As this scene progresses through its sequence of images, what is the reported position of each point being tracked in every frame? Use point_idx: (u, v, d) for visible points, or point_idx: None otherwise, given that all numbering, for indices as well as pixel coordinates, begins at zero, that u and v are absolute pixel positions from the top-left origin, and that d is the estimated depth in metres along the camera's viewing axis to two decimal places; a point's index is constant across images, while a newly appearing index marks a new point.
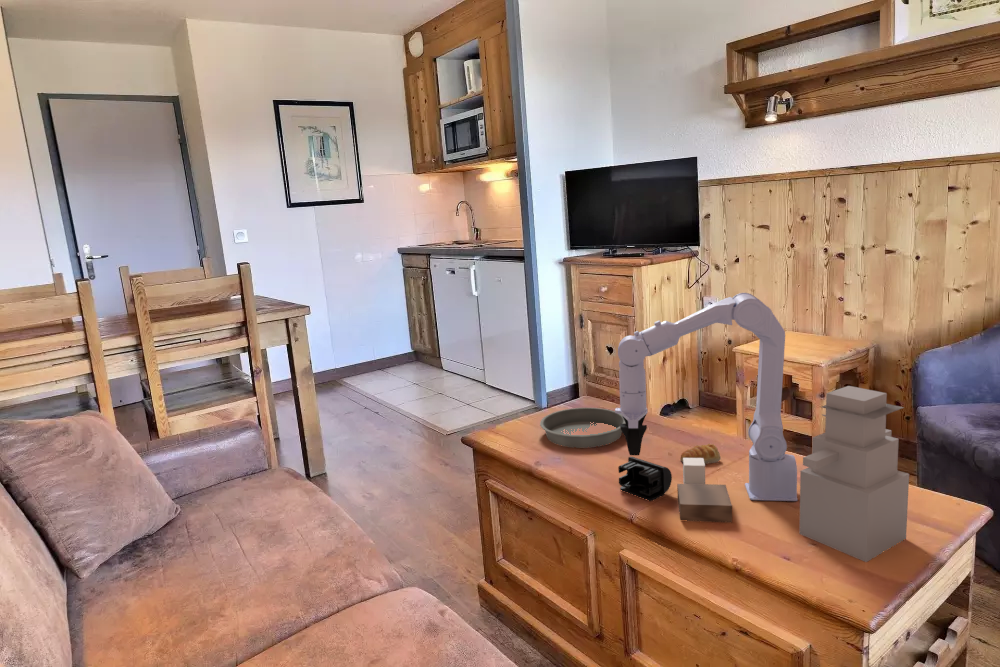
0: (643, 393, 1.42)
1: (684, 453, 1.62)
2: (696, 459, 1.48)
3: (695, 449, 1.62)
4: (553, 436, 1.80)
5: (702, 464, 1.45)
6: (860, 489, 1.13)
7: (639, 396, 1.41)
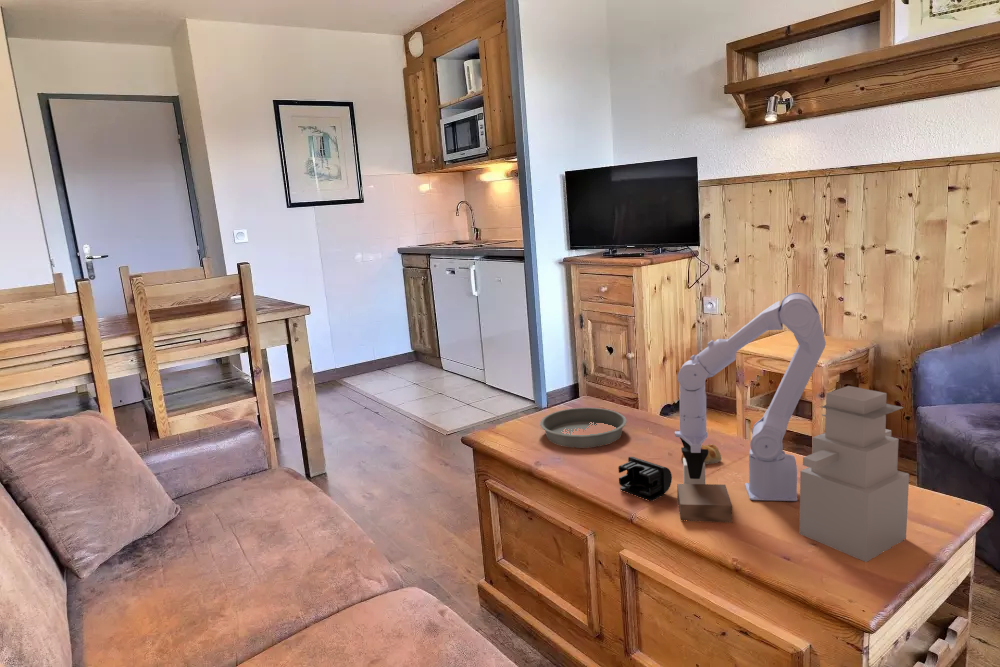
0: (704, 417, 1.43)
1: None
2: None
3: None
4: (553, 436, 1.80)
5: None
6: (860, 489, 1.13)
7: (700, 420, 1.42)
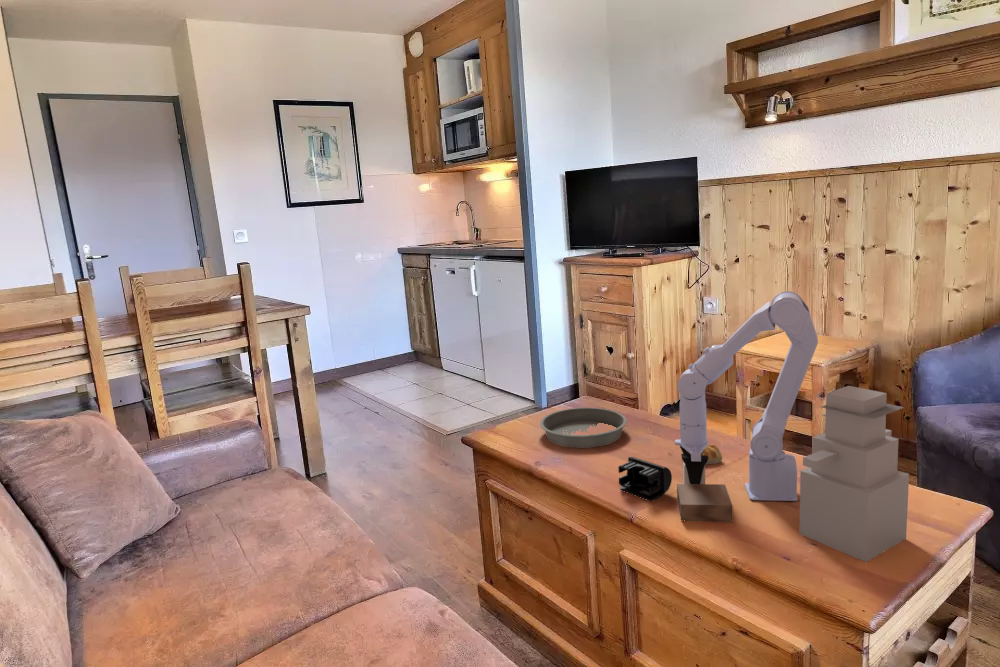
0: (704, 426, 1.43)
1: None
2: None
3: None
4: (553, 436, 1.80)
5: None
6: (860, 489, 1.13)
7: (700, 429, 1.43)
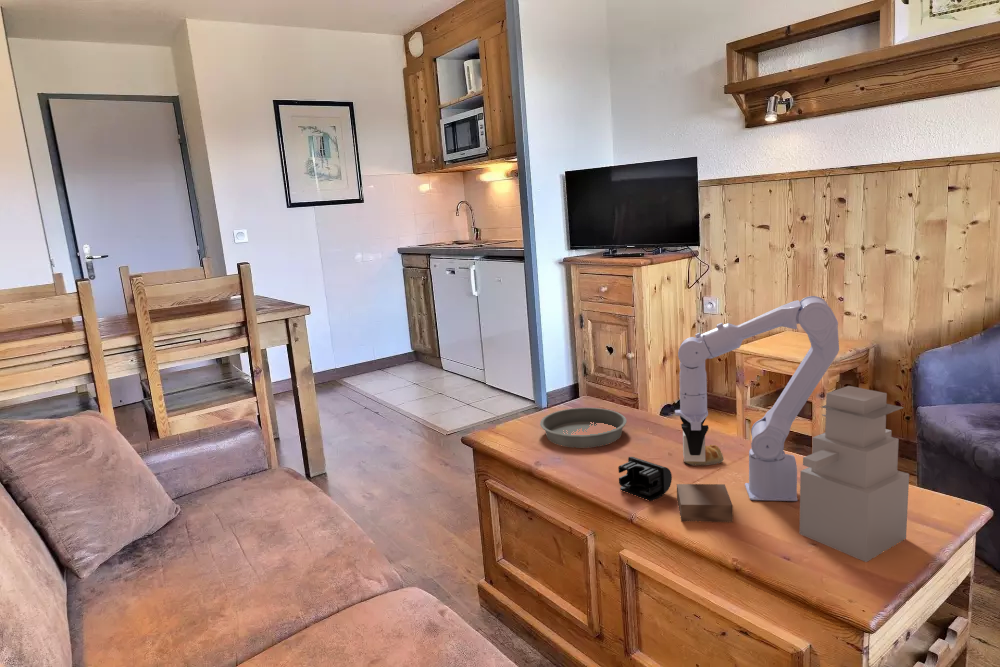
0: (704, 395, 1.41)
1: None
2: None
3: None
4: (553, 436, 1.80)
5: None
6: (860, 489, 1.13)
7: (701, 398, 1.41)
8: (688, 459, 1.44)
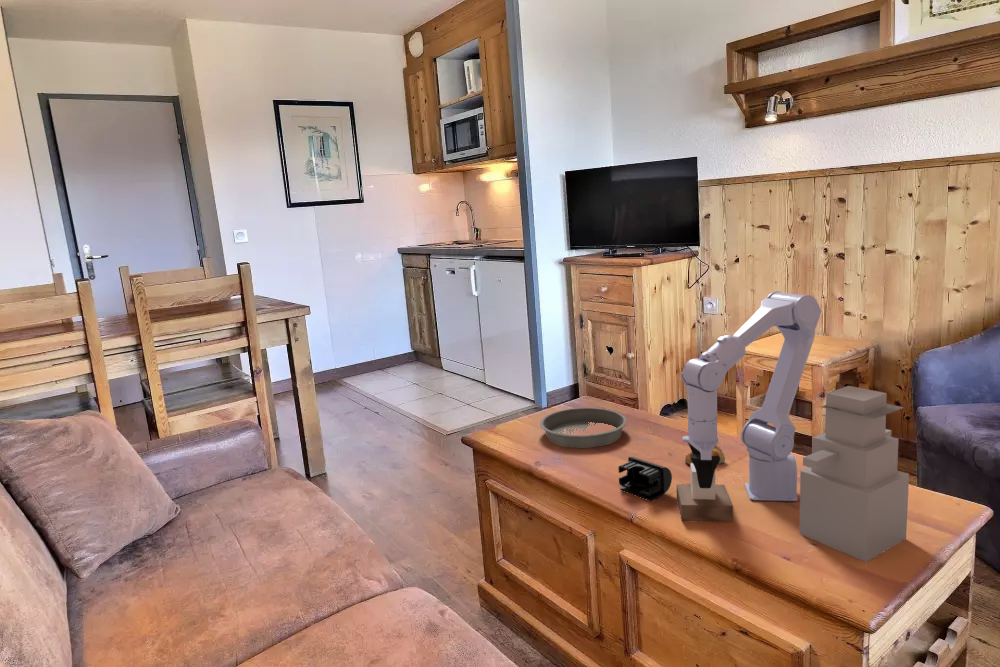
0: (715, 421, 1.31)
1: (689, 455, 1.61)
2: None
3: None
4: (553, 436, 1.80)
5: None
6: (860, 489, 1.13)
7: (711, 424, 1.30)
8: (697, 497, 1.34)
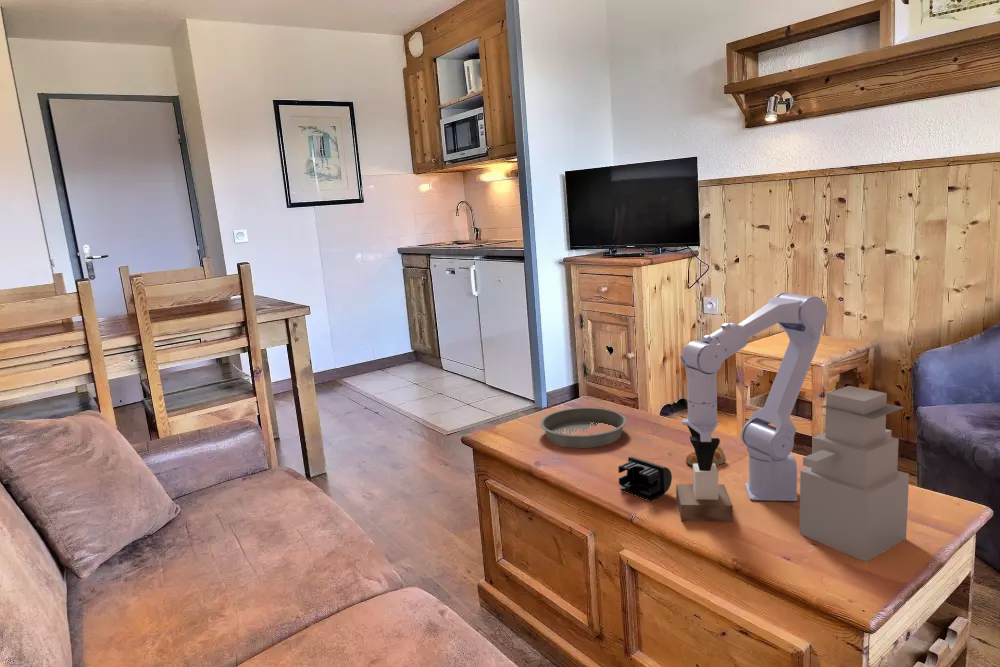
0: (714, 403, 1.30)
1: (690, 456, 1.60)
2: None
3: None
4: (553, 436, 1.80)
5: (715, 470, 1.32)
6: (860, 489, 1.13)
7: (710, 406, 1.30)
8: (700, 497, 1.33)
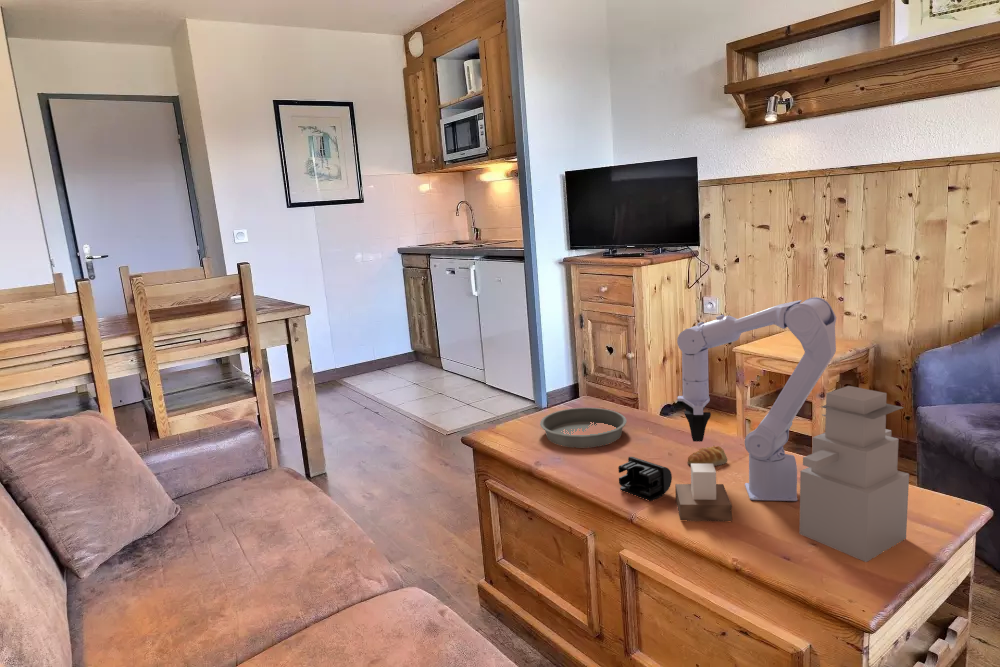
0: (706, 381, 1.46)
1: (691, 456, 1.60)
2: (705, 465, 1.35)
3: (702, 452, 1.60)
4: (553, 436, 1.80)
5: (712, 470, 1.33)
6: (860, 489, 1.13)
7: (703, 384, 1.46)
8: (698, 497, 1.34)
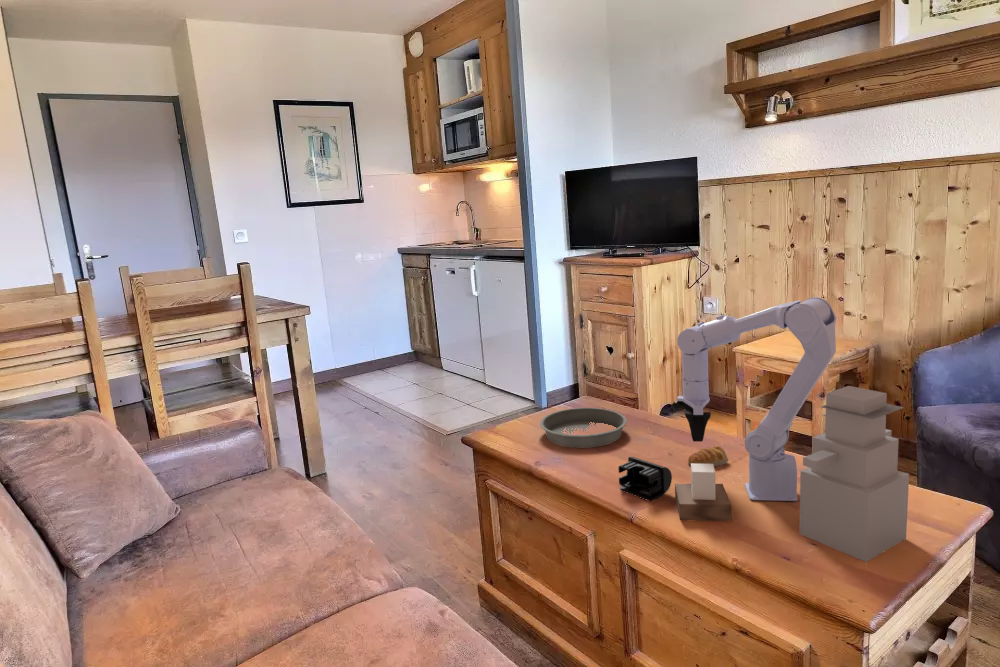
0: (706, 381, 1.46)
1: (692, 456, 1.60)
2: (705, 465, 1.35)
3: (703, 452, 1.60)
4: (553, 436, 1.80)
5: (712, 471, 1.32)
6: (860, 489, 1.13)
7: (703, 384, 1.46)
8: (697, 497, 1.34)
